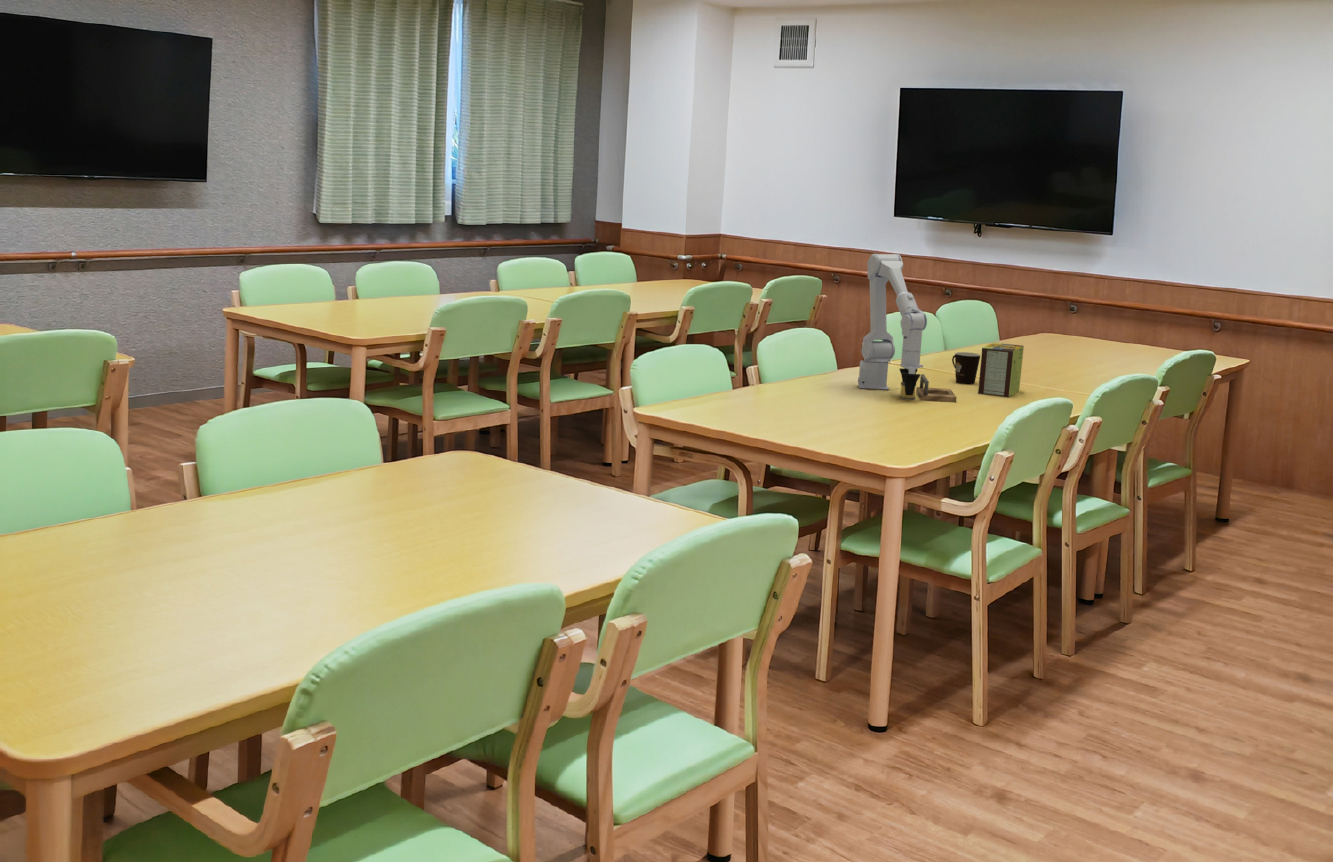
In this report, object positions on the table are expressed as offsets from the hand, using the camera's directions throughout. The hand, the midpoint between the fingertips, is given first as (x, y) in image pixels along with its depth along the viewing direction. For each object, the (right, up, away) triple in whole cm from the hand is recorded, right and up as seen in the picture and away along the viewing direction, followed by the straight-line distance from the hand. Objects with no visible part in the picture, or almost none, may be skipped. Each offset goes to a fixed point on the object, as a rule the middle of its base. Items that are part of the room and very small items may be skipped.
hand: (907, 393), depth 383 cm
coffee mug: (+27, +5, +36) cm, 45 cm away
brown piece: (+10, -1, +5) cm, 11 cm away
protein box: (+34, +1, +19) cm, 39 cm away
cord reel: (0, -2, 0) cm, 2 cm away
